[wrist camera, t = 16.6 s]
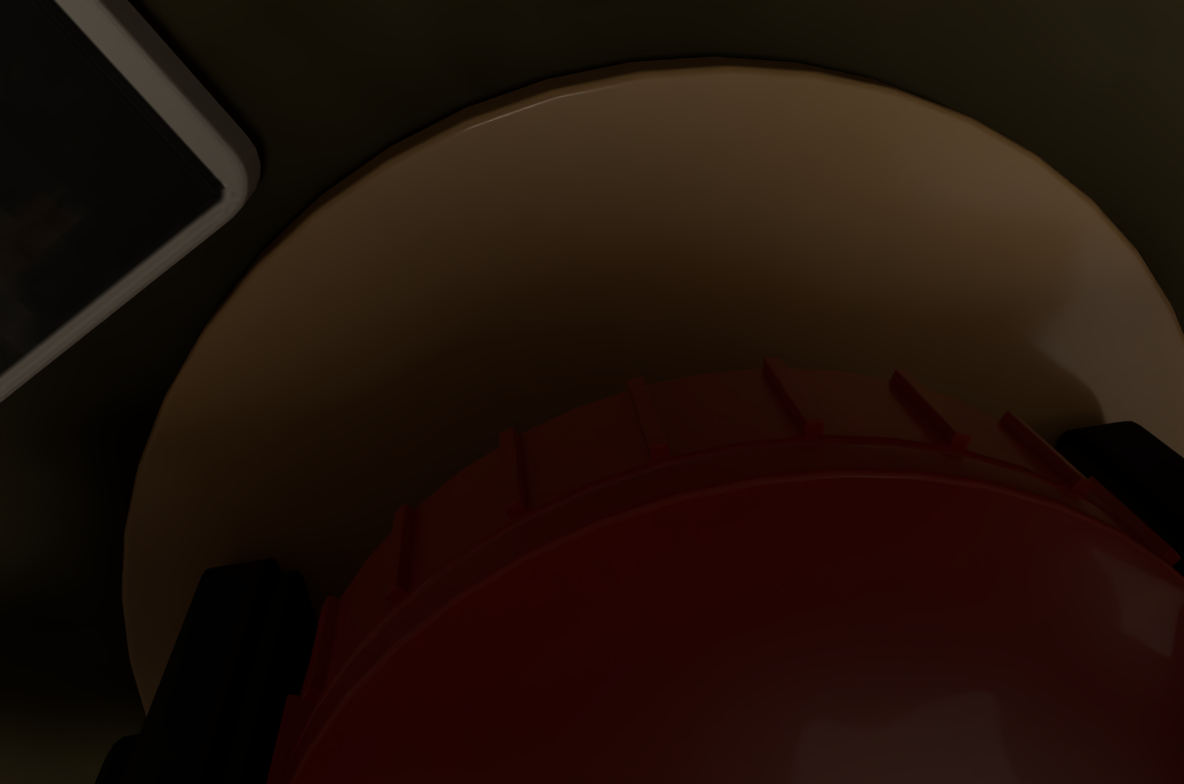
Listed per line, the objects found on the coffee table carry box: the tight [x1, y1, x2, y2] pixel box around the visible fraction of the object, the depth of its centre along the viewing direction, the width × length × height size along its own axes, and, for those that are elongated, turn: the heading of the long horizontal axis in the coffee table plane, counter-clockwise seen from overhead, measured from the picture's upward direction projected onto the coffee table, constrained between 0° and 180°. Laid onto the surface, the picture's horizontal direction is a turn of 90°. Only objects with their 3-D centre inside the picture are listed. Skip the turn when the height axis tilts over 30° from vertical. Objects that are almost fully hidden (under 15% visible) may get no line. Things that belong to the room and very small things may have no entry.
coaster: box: [121, 56, 1184, 717], centre depth 10 cm, size 10×10×1 cm
